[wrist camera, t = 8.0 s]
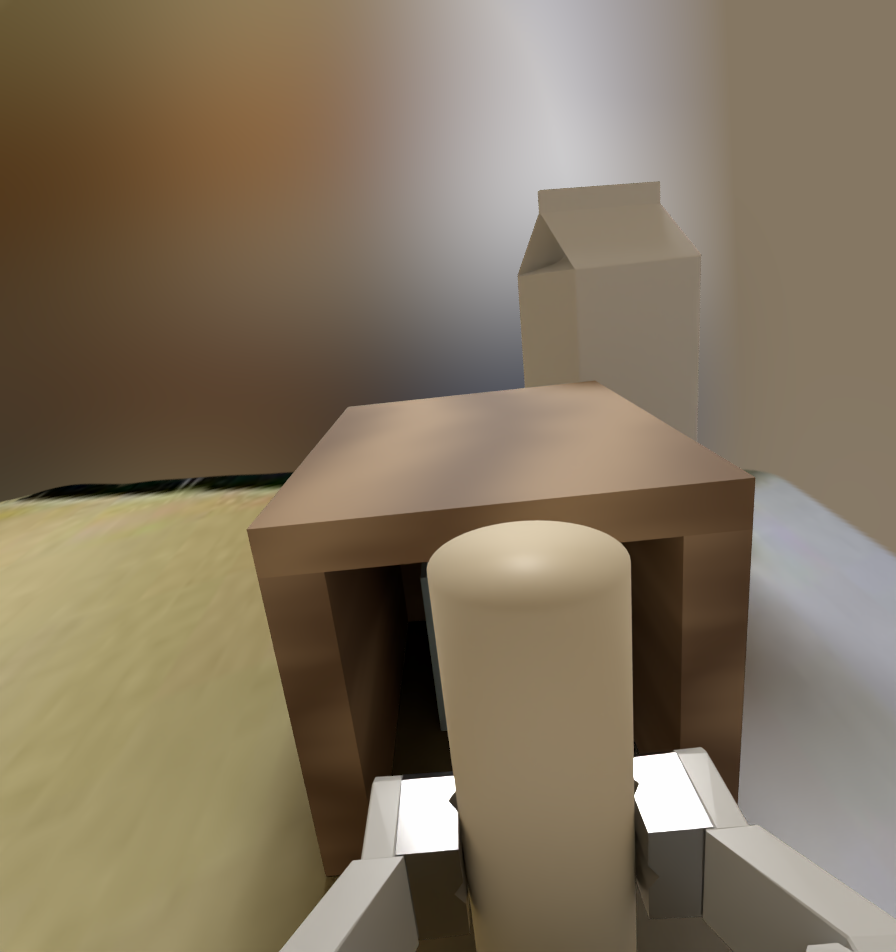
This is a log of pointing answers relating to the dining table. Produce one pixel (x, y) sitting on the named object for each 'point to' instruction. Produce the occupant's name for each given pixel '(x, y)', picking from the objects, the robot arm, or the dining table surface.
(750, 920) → the robot arm
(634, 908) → the cream rounded block
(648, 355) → the milk carton
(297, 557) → the walnut cubby
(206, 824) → the dining table surface
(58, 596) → the dining table surface
